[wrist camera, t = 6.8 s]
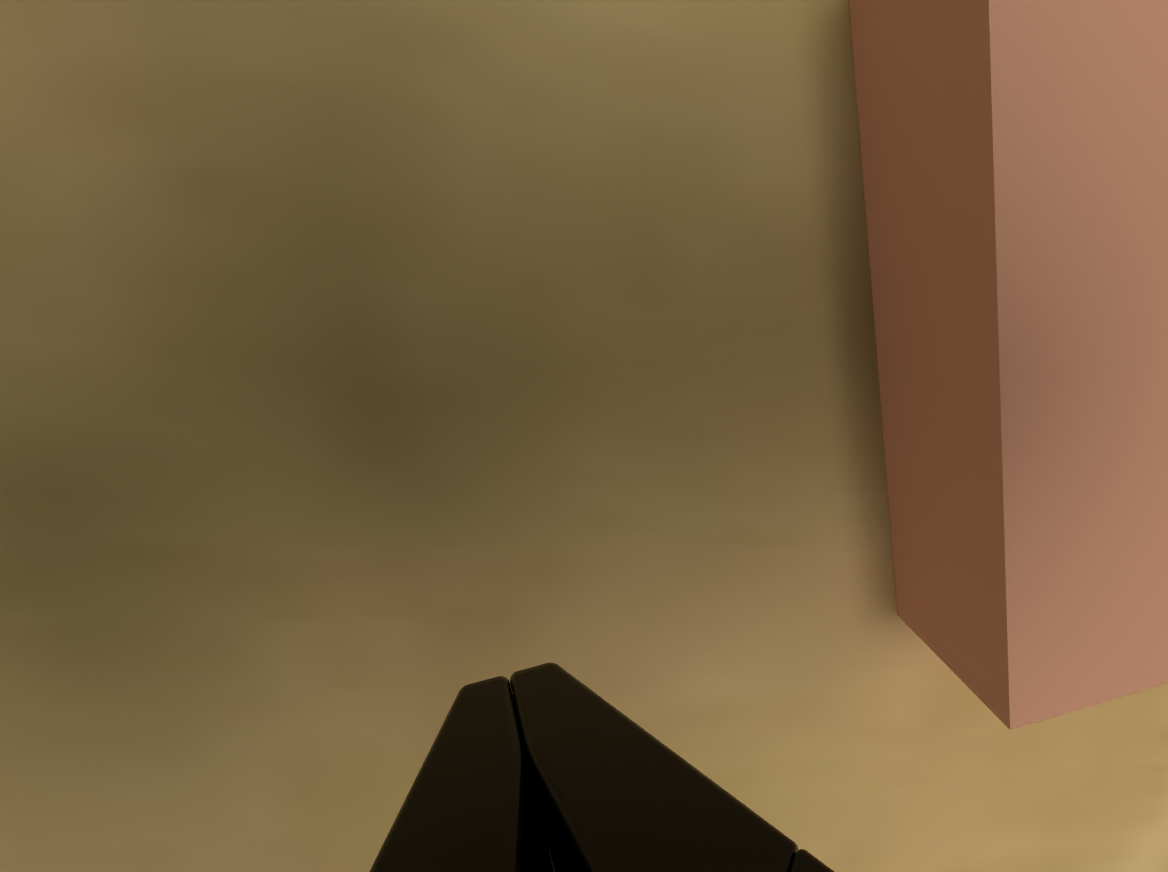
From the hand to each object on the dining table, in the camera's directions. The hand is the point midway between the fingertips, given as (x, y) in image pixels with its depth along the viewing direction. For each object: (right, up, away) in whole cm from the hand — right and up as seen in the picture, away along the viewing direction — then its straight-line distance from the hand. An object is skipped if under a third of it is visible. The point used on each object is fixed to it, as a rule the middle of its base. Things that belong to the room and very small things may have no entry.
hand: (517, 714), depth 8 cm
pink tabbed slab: (+10, +5, +10) cm, 15 cm away
